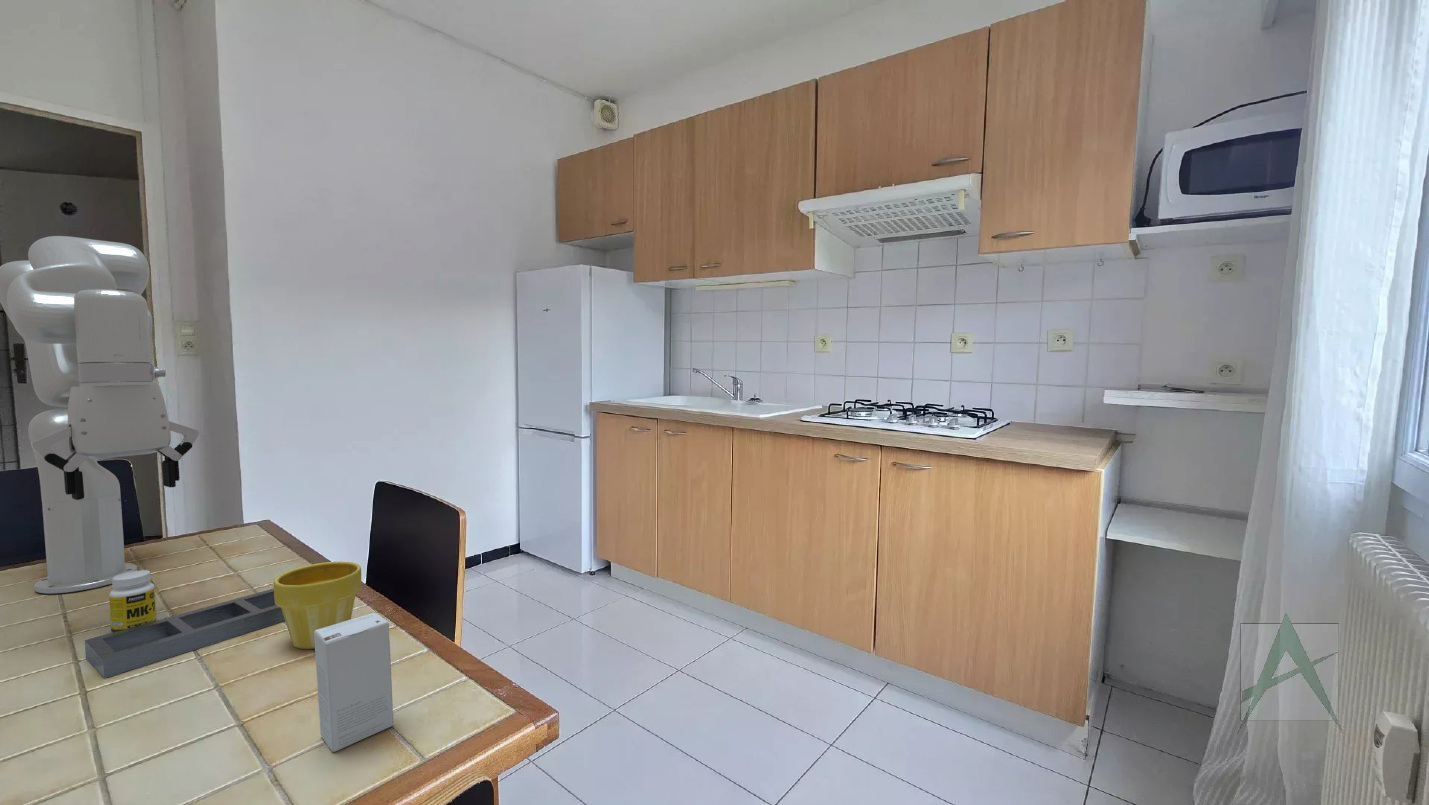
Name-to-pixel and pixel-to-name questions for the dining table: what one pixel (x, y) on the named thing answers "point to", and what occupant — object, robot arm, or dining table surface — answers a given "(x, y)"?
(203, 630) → the grey long slotted tray
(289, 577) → the plant pot
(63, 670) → the dining table surface
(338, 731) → the skincare box
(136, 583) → the supplement bottle
